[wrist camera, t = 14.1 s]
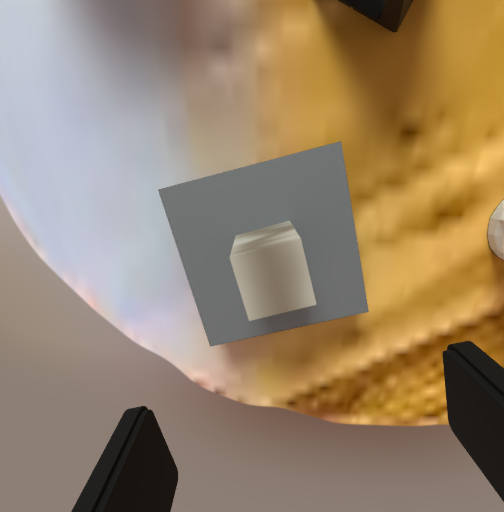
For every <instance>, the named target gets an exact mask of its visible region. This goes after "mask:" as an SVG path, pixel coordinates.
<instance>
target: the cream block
mask: <svg viewBox="0 0 504 512" xmlns="http://www.w3.org/2000/svg"><path fill="white" fill-rule="evenodd" d="M229 258H230V261H231V264H232V267H233V271H234V274H235V277H236V280H237V284H238V287H239V290H240V293H241V296H242V300H243V303H244V306H245V309H246V313H247V316H248V319H249V321H251V320H256V319H260V318H264V317H268V316H272V315H276V314H280V313H284V312H288V311H293V310H297V309H301V308H305V307H309V306H313V305H317V304H316V300H315V296H314V292H313V287H312V283H311V279H310V275H309V270H308V266H307V262H306V258H305V254H304V249H303V245H302V241H301V238H300V236H299V235H298V233H297V232H296V230H295V228H294V227H293V225H292V224H291V222H290V221H287V222H284V223H280V224H276V225H273V226H269V227H265V228H261V229H258V230H254V231H250V232H246V233H243V234H239V235H236V236H235V240H234V243H233V247H232V250H231V254H230V257H229Z"/></svg>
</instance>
